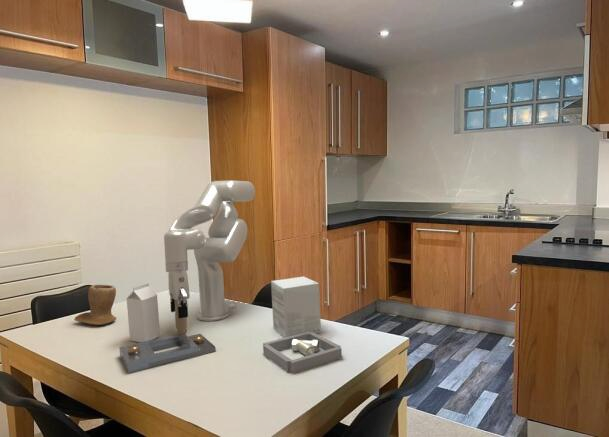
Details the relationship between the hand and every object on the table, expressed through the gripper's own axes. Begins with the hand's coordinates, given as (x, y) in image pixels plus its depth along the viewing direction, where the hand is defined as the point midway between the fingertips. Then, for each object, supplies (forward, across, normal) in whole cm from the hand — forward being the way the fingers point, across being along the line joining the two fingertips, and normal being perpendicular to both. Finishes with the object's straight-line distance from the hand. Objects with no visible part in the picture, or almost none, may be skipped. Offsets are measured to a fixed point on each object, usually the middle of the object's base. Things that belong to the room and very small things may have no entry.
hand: (179, 314), depth 155 cm
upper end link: (+8, -15, +11) cm, 20 cm away
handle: (+7, +1, -1) cm, 7 cm away
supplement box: (+7, -22, -35) cm, 42 cm away
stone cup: (+7, +36, +22) cm, 43 cm away
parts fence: (+7, -42, -25) cm, 50 cm away
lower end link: (+8, -15, +5) cm, 18 cm away
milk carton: (+8, +4, +11) cm, 14 cm away
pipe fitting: (+8, -41, -26) cm, 50 cm away
